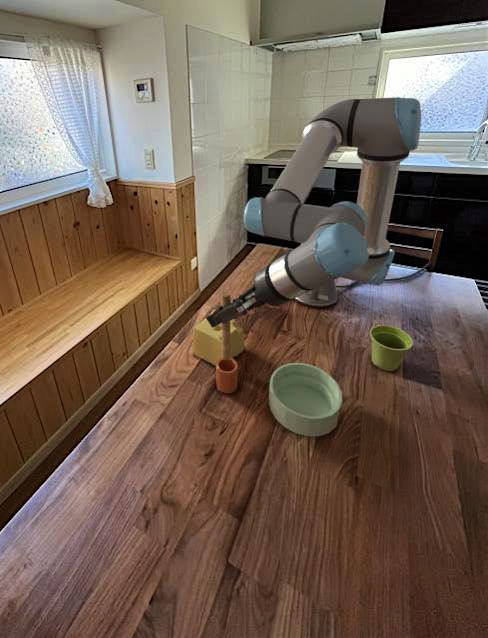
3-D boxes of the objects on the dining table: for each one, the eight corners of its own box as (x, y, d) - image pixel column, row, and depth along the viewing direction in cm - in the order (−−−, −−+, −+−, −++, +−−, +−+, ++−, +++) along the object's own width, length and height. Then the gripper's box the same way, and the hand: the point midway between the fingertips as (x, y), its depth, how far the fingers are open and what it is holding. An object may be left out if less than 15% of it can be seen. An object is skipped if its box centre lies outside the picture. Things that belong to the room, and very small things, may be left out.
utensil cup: (227, 374, 87) (227, 353, 84) (241, 388, 83) (242, 366, 80) (212, 384, 84) (211, 363, 82) (225, 398, 80) (225, 376, 78)
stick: (226, 353, 82) (226, 290, 74) (232, 358, 80) (232, 294, 73) (220, 357, 81) (219, 293, 73) (225, 361, 79) (225, 297, 72)
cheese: (244, 350, 95) (245, 321, 91) (222, 373, 87) (222, 343, 83) (215, 335, 101) (214, 308, 97) (192, 355, 94) (190, 327, 90)
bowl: (297, 371, 87) (299, 353, 84) (352, 413, 75) (356, 393, 73) (255, 401, 79) (256, 382, 77) (309, 452, 68) (312, 432, 65)
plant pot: (411, 379, 83) (419, 351, 80) (370, 374, 85) (376, 347, 81) (397, 352, 91) (404, 326, 88) (360, 348, 93) (365, 323, 90)
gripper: (275, 318, 56) (202, 350, 73) (313, 280, 66) (240, 317, 83) (248, 280, 57) (182, 321, 74) (289, 249, 67) (223, 291, 84)
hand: (213, 319), depth 79 cm, fingers closed on stick, 2 cm apart
